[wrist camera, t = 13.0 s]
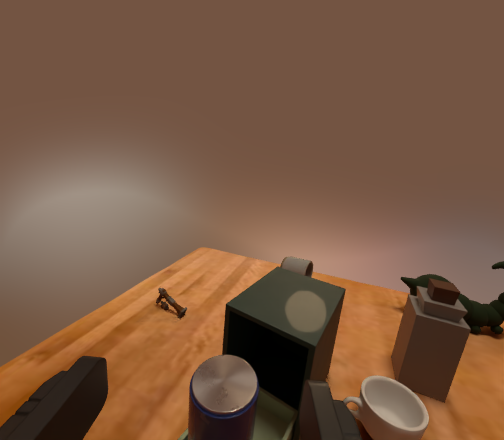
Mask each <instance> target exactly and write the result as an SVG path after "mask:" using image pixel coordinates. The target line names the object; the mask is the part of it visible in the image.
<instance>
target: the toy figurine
mask: <svg viewBox="0 0 504 440" xmlns="http://www.w3.org/2000/svg"><path fill="white" fill-rule="evenodd" d="M499 268H503V269H504V261H503V262H499V263H496V264H494V265H493V266H492V269H499ZM429 278H430V279H435V280H439V281H444V282H448V283H451V282H449V281H448V280H446V279H445V278H443V277H441V276H438V275H432V274H427V275H422V276H420V277H418V278H416V279H413V278H406V277H401V280H402V281H403V282H404V283H405V284H407V286H408V287H409V288H410V295H413V296H417V286H420V287H424V288H428V282H429ZM458 300H459V301H460V302H461V304H462V305H463V306H464V308H465V309H466V310H467V311H468V312H467V313H466V315H465V316H464V317H463V319H464V321H465V322H466V323H467V325H468V326H469V328H470V329H471V330H470V331H471V332H473V333H476V334H478V333H480V332H481V328H480V327H484V326H487V327H490V329H491V331H493V332H494V333H495V334H501V333H503V328H501V327H500V326H499V325H501V324H502V323H503V321H504V292H503V293H501V294H500V295H499V297H498V300H494V301H492V302H491V303H490V304H480V303H478V302H476V301H472V300H469V299H468V298H467V297H466V296H464V295H462V294H460V295H459V297H458Z"/></svg>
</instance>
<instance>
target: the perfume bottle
mask: <svg viewBox="0 0 504 440" xmlns="http://www.w3.org/2000/svg"><path fill="white" fill-rule="evenodd" d="M459 295H460V291H459V290H458V289H457V288H456V287H455V285H454V284H453V283H448V282H444V281H439V280H435V279H430V278H429V282H428V288H424V287H420V286H417V296H413V295H409V294H408V298H407V302H406V305H405V309H404V313H403V316H402V320H401V323H400V327H399V331H398V334H397V338H396V342H395V345H394V349H393V353H392V356H391V358H392V363H393V369H394V374H395V380H396V381H398V382H399V383H401V384H403V385H404V386H406V387H407V388H409V389H410V390H412V391H415V392H418V393H420V394H423V395H426V396H428V397H431V398H434V399H436V400H439V401H442V402H444V403H445V400H446V397H447V394H448V392H449V389H450V386H451V383H452V380H453V378H454V375H455V372H456V369H457V366H458V364H459V361H460V358H461V355H462V353H463V350H464V347H465V344H466V341H467V339H468V336H469V333H470V330H471V329H470V328H469V326H468V325H467V323H466V322H465V321H464V319H463V317H464V316H465V315H466V313H467V312H468V311H467V310H466V309H465V308H464V306H463V305H462V304H461V302H460V301H459V300H458V297H459Z"/></svg>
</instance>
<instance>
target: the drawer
mask: <svg viewBox="0 0 504 440" xmlns="http://www.w3.org/2000/svg"><path fill="white" fill-rule="evenodd" d="M297 414H298V411H297V410H296V409H294V408H293V407H291V406H290V405H288V404H286V403H285V402H283V401H282V400H280V399H278V398H277V397H275V396H274V395H272V394H270V393H269V392H267V391H266V390H264V389H263V388H261V387H259V393H258V401H257V410H256V418H255V426H254V434H253V440H292V438H293V436H294V431H295V425H296V419H297ZM178 440H188V428H187V429H186V431H185V432H184V433H183V434H182V435H181V436H180V438H179V439H178Z"/></svg>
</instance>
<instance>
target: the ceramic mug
mask: <svg viewBox="0 0 504 440" xmlns="http://www.w3.org/2000/svg"><path fill="white" fill-rule="evenodd" d="M280 267H281V268H284V269H287V270H290V271H293V272H296V273H299V274H302V275H305V276H308V277H312V272H313V263H312V261H309V260H304V259H299V258H295V257H286V258H284V260H283V261H282V263H281V266H280Z"/></svg>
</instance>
